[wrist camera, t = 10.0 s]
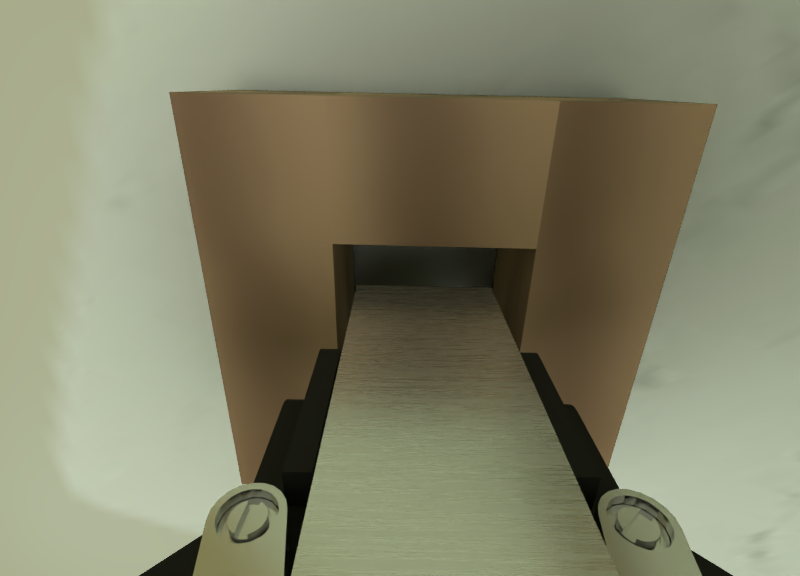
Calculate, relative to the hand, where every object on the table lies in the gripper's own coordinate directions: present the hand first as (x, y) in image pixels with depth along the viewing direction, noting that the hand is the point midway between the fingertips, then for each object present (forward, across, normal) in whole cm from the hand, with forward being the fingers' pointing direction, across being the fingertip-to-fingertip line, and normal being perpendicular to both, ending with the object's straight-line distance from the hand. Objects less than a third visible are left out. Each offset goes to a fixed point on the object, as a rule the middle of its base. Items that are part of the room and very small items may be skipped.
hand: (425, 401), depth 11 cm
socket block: (+8, 0, 0) cm, 8 cm away
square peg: (+3, 0, 0) cm, 3 cm away
